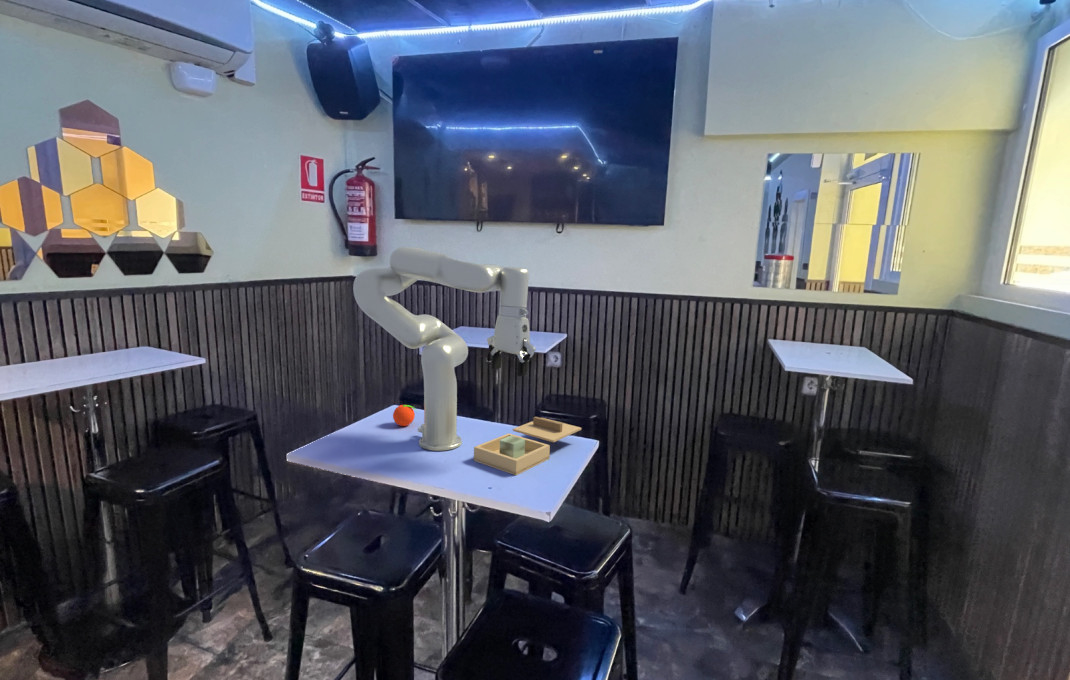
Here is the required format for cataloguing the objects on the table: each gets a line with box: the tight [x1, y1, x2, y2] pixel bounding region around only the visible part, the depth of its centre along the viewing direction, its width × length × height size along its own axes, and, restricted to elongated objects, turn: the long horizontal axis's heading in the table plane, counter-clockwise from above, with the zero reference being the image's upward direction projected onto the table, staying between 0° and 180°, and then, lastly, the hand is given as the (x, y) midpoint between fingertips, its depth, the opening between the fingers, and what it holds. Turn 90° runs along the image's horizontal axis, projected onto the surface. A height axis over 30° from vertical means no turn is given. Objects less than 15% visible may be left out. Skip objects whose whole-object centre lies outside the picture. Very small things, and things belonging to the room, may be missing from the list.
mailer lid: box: [512, 416, 582, 443], centre depth 158 cm, size 15×15×3 cm
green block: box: [500, 436, 525, 459], centre depth 145 cm, size 5×5×5 cm
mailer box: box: [473, 432, 551, 476], centre depth 146 cm, size 15×15×4 cm
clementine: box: [392, 404, 418, 427], centre depth 171 cm, size 8×7×7 cm
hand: (508, 372), depth 147 cm, fingers open, 9 cm apart
